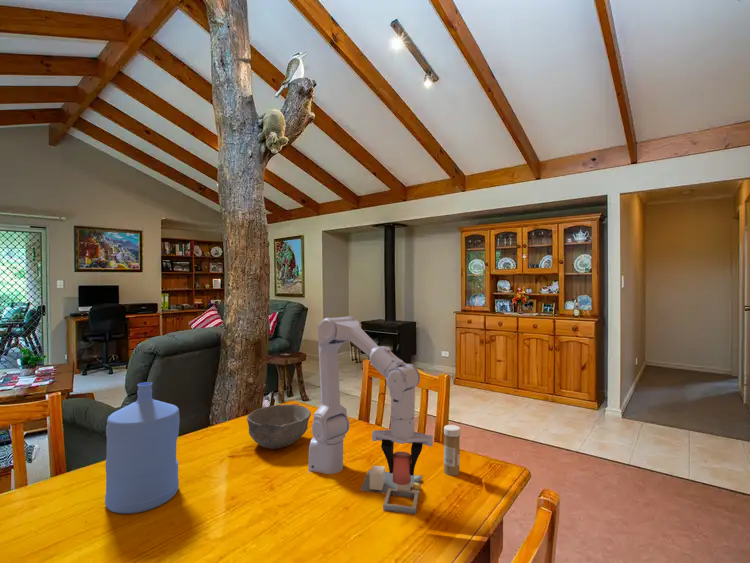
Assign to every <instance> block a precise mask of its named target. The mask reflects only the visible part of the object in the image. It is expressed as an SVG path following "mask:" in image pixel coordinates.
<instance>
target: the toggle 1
mask: <svg viewBox="0 0 750 563" xmlns="http://www.w3.org/2000/svg"><path fill="white" fill-rule="evenodd" d="M370 470H371V472H370V489H373V490H382V489H383V486H384V483H385V472H386V467H385V466H382V465H372V467H371V469H370Z"/></svg>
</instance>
